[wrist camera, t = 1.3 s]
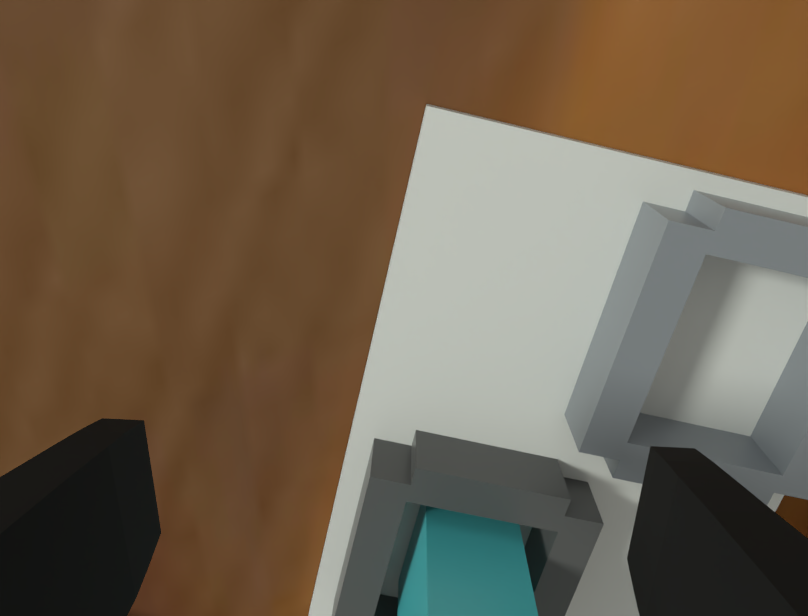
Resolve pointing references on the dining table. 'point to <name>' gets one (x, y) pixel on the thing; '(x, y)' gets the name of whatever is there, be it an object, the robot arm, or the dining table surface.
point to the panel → (567, 356)
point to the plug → (464, 567)
